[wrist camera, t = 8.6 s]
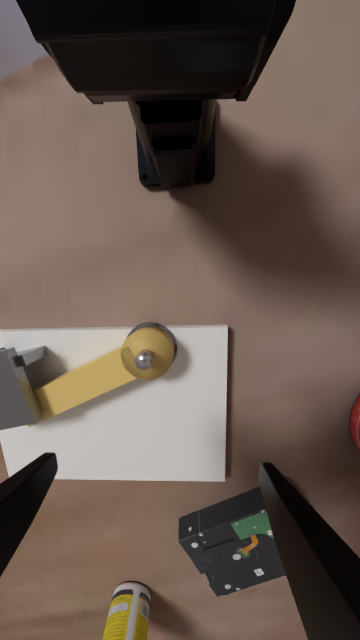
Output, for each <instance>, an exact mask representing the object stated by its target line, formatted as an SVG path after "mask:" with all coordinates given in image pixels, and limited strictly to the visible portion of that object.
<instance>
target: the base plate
mask: <svg viewBox="0 0 360 640" xmlns="http://www.w3.org/2000/svg"><path fill="white" fill-rule="evenodd" d="M165 327H166V328H168V329H169V330H170V331H171V332H172V334H173V335H174V337H175V339H176V342H177V355H176V358H175V360H174V362H173V363H172V364H171V366H170V368H169V370H168V371H167V372H166V373H165V374H164V375H163V376H161V377H159V378H157V379H154V380H142V379H139V378H137V379H134V380H132V381H130V382H128V383H126V384H123V385H121V386H119V387H117V388H114V389H112V390H110V391H108V392H106V393H103V394H101V395H99V396H97V397H95V398H92V399H90V400H88V401H86V402H84V403H81V404H79V405H77V406H75V407H72V408H70V409H68V410H66V411H64V412H61V413H59V414H57V415H55V416H53V417H50V418H48V419H46V420H44V421H42V422H39V423H37V424H35V425H33V426H30V427H28V426H27V425H24V426H19V427H14V428H9V429H4V430H0V442H1V446H2V450H3V454H4V458H5V462H6V467H7V471H8V475H9V477H11V476H12V475H14V474H15V473H16V472H18V471H19V470H21V469H22V468H24V467H25V466H26V465H28V464H29V463H31V462H32V461H34V460H35V459H36V458H38V457H39V456H41V455H42V454H44V453H46V452H54V453H55V454H56V457H57V463H58V470H57V473H56V476H55V478H54V479H84V480H151V481H218V482H225V451H226V398H227V345H228V326H227V325H185V326H165ZM133 328H135V327H88V328H40V329H0V348H2V347H4V349H9V348H13V347H14V348H15V350H16V352H19V351H23V350H27V349H32V348H36V347H40V346H44V345H45V347H46V350H47V352H48V355H46V356H44V357H42V358H40V359H38V360H36V361H34V362H32V363H30V364H28V365H26V366H22V367H23V369H24V371H25V374H26V376H27V379H28V381H29V383H30V386H31V388H32V389H33V388H36V387H38V386H40V385H42V384H44V383H46V382H48V381H50V380H52V379H54V378H56V377H58V376H61V375H63V374H65V373H67V372H69V371H71V370H73V369H75V368H77V367H79V366H81V365H83V364H85V363H88V362H90V361H92V360H94V359H96V358H98V357H100V356H102V355H104V354H106V353H108V352H110V351H113V350H115V349H117V348H119V347H121V346H122V345H123V343H124V342H125V340H126V338H127V336H128V334H129V333H130V331H131V330H132V329H133Z"/></svg>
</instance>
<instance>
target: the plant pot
mask: <svg viewBox="0 0 360 640" xmlns="http://www.w3.org/2000/svg"><path fill="white" fill-rule="evenodd" d="M350 429H351V434H352V437H353V440H354V442H355V444H356V446H357V448H358V449H359V450H360V395H359V397H358V398H357V400H356V402H355V404H354V406H353V409H352V413H351V418H350Z"/></svg>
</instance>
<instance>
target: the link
mask: <svg viewBox="0 0 360 640" xmlns="http://www.w3.org/2000/svg"><path fill="white" fill-rule="evenodd" d="M142 350H149V351H151V352H152V353H153V355H154V360H153V362H152V364H151V366H150V368H149V369H147V370H140V369H138V368H137V367H136V365H135V358H136V356H137V355H138V354H139V352H140V351H142ZM173 355H174V344H173V341H172V339H171V337H170V336H169V335H168V334H167V333H166V332H165V331H164V330H162V329H160V328H158V327H154V326H145V327H142V328H139V329H137V330H136V331H135V332H134V333H132V334H131V335H130V336H129V337H128V338H127V339H126V340H125V342H124V343H123V345H122V346H121V347H119V348H117V349H115V350H113V351H110V352H108V353H106V354H104V355H102V356H100V357H98V358H96V359H94V360H92V361H90V362H88V363H85V364H83V365H81V366H79V367H77V368H75V369H73V370H71V371H69V372H67V373H65V374H63V375H61V376H58V377H56V378H54V379H52V380H50V381H48V382H46V383H44V384H42V385H40V386H38V387H36V388H33V389H32V391H33V393H34V395H35V398H36V400H37V403H38V405H39V407H40V410H41V412H42V415H43V418H42V419H40V420H39V421H38V422H37V423H39V422H42V421H44V420H46V419H48V418H50V417H53V416H55V415H57V414H59V413H61V412H64V411H66V410H68V409H70V408H72V407H75V406H77V405H79V404H81V403H84V402H86V401H88V400H90V399H92V398H95V397H97V396H99V395H101V394H103V393H106V392H108V391H110V390H112V389H114V388H117V387H119V386H121V385H123V384H126V383H128V382H130V381H132V380H134V379H137V378H139V379H142V380H154V379H157V378H159V377H161V376H163V375H164V374H165V373H166V372H167V371H168V370H169V368H170V366H171V364H172V360H173ZM37 423H34V424H29V425H27V426H28V427H30V426H33V425H35V424H37Z"/></svg>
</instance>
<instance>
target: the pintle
mask: <svg viewBox="0 0 360 640" xmlns="http://www.w3.org/2000/svg"><path fill="white" fill-rule="evenodd" d="M145 326H154V327H158V328H160V329H162V330H164V331H165V332H166V333H167V334H168V335H169V336H170V337H171V339H172V341H173V344H174V355H173V360H172V363H173V362H174V360H175V358H176V355H177V342H176V339H175V337H174V335H173V334H172V332H171V331H170V330H169V329H168V328H166V327H165V326H163V325H161V324H158V323H153V322H148V323H143V324H140V325H138V326H136V327H135V328H133V329H132V330H131V331H130V333H129V334H128V336H127V338H128V337H129V336H130V335H131V334H132V333H134V332H135V331H136V330H137V329H139V328H142V327H145ZM127 338H126V339H127ZM153 360H154V355H153V353H152V352H151V351H149V350H142V351H140V352H139V354H138V355H137V356H136V358H135V365H136V367H137V368H138V369H140V370H147V369H149V368H150V366H151V364H152V362H153Z"/></svg>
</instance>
